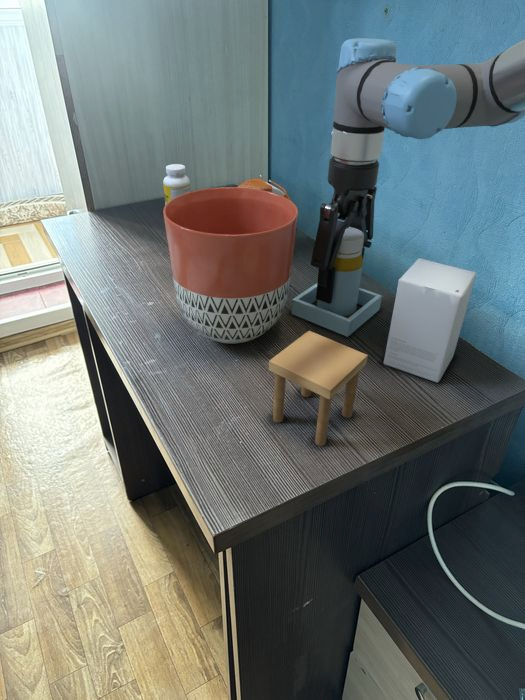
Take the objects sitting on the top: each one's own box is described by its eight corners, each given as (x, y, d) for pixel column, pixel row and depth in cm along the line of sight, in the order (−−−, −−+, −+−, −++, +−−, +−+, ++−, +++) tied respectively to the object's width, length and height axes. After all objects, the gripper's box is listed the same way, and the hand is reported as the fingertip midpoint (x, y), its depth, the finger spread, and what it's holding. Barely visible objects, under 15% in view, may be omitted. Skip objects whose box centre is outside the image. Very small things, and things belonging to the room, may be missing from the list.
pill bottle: (172, 207, 135) (168, 161, 128) (195, 210, 133) (193, 164, 127) (161, 216, 129) (157, 169, 123) (185, 219, 128) (182, 171, 121)
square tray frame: (379, 309, 95) (382, 295, 93) (347, 337, 87) (349, 322, 85) (325, 290, 100) (327, 276, 98) (291, 313, 93) (292, 299, 91)
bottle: (308, 312, 93) (315, 233, 85) (331, 298, 98) (339, 222, 89) (341, 326, 90) (351, 245, 81) (362, 311, 94) (374, 233, 85)
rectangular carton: (455, 355, 83) (480, 271, 75) (438, 384, 77) (463, 296, 68) (401, 337, 87) (418, 255, 79) (381, 364, 81) (397, 278, 72)
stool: (357, 413, 71) (368, 354, 66) (323, 450, 66) (330, 390, 60) (303, 387, 76) (308, 330, 70) (266, 420, 70) (268, 360, 64)
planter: (313, 330, 88) (324, 207, 76) (236, 383, 76) (235, 248, 64) (230, 292, 99) (228, 179, 86) (150, 334, 86) (134, 209, 74)
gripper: (367, 140, 87) (350, 263, 100) (292, 168, 73) (285, 307, 86) (408, 148, 83) (386, 274, 96) (339, 180, 69) (323, 322, 82)
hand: (338, 289), depth 91 cm, fingers open, 9 cm apart
